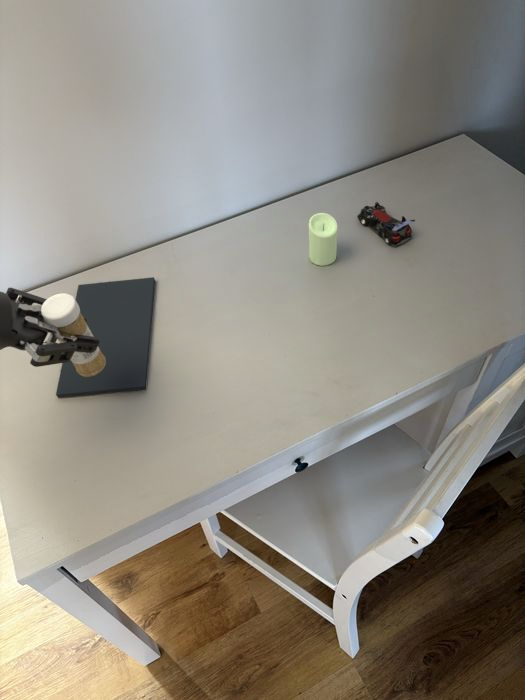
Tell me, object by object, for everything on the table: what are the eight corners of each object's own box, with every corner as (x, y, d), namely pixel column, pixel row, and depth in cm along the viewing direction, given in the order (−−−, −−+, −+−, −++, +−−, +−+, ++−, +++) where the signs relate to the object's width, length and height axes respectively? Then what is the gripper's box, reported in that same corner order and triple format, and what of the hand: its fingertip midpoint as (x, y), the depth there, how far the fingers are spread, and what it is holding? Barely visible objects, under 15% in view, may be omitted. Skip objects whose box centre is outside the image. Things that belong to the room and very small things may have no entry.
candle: (341, 259, 98) (343, 224, 92) (318, 269, 97) (318, 234, 90) (326, 244, 101) (327, 208, 94) (304, 254, 100) (303, 218, 93)
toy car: (391, 250, 98) (393, 233, 95) (349, 217, 105) (350, 200, 102) (416, 237, 100) (419, 219, 97) (373, 205, 107) (375, 188, 103)
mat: (146, 389, 84) (144, 386, 83) (58, 398, 84) (55, 394, 83) (155, 280, 98) (154, 277, 98) (80, 288, 99) (78, 284, 98)
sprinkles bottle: (98, 348, 81) (66, 286, 71) (111, 367, 79) (81, 306, 68) (71, 364, 80) (34, 303, 69) (83, 383, 78) (47, 323, 67)
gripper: (-12, 329, 57) (122, 345, 70) (-45, 257, 65) (82, 283, 78) (-36, 382, 60) (98, 387, 73) (-64, 306, 67) (61, 324, 81)
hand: (89, 333), depth 75 cm, fingers closed on sprinkles bottle, 4 cm apart
